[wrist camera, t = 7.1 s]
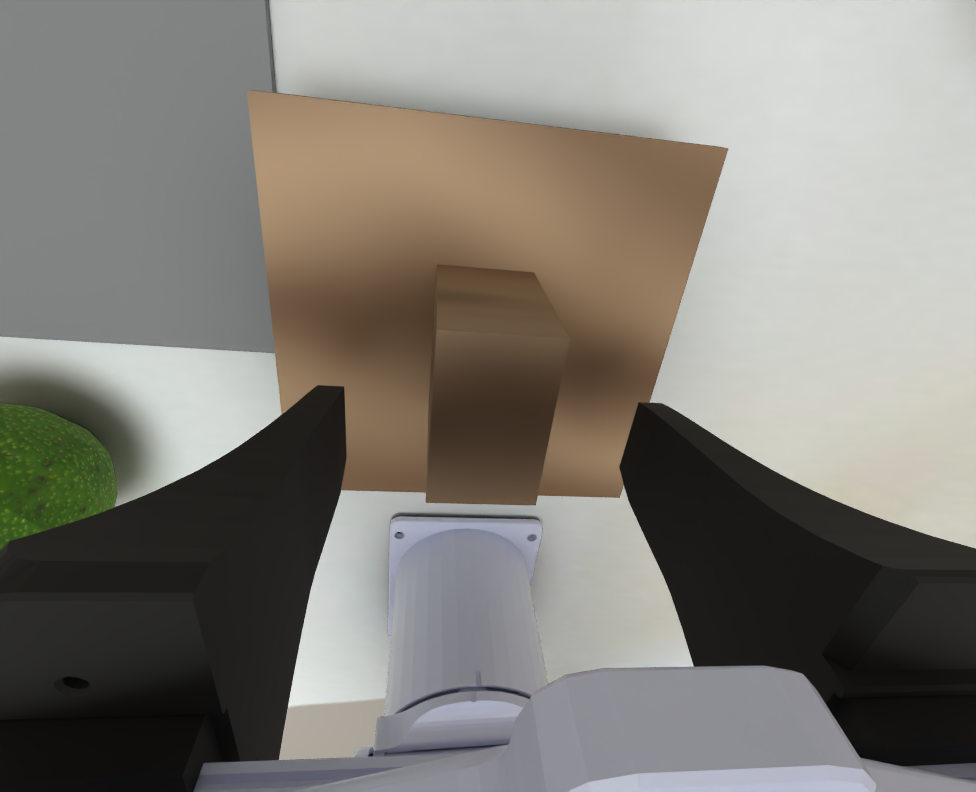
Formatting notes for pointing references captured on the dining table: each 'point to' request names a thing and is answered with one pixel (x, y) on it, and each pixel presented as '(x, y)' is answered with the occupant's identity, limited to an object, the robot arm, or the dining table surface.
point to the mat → (133, 172)
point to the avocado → (49, 472)
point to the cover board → (470, 212)
